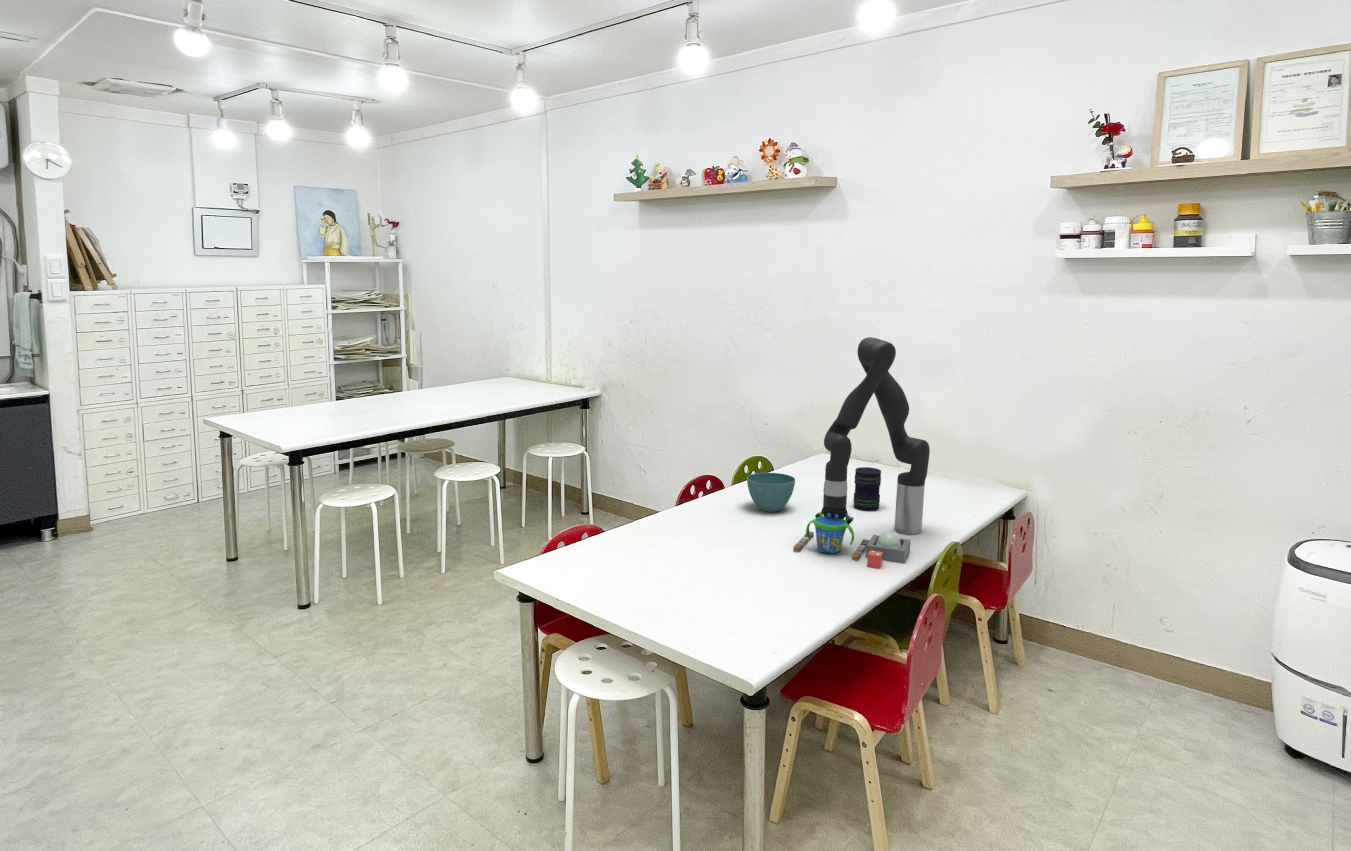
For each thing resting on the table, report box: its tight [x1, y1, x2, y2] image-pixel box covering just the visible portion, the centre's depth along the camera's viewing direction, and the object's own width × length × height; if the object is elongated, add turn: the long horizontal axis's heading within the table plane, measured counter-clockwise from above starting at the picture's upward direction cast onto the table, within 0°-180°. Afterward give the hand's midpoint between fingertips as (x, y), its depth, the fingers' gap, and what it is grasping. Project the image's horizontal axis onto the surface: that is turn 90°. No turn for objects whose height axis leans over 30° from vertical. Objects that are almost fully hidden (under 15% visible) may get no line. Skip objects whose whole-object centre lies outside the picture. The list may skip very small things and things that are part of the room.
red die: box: [866, 550, 884, 569], centre depth 252 cm, size 4×4×4 cm
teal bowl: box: [746, 472, 796, 513], centre depth 310 cm, size 18×18×12 cm
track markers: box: [792, 530, 870, 562], centre depth 268 cm, size 18×21×2 cm
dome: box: [876, 531, 901, 549], centre depth 262 cm, size 8×8×7 cm
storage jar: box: [853, 466, 882, 512], centre depth 313 cm, size 10×10×15 cm
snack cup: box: [805, 515, 855, 555], centre depth 264 cm, size 16×10×10 cm
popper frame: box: [865, 534, 912, 564], centre depth 262 cm, size 12×12×4 cm
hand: (833, 542), depth 270 cm, fingers closed
